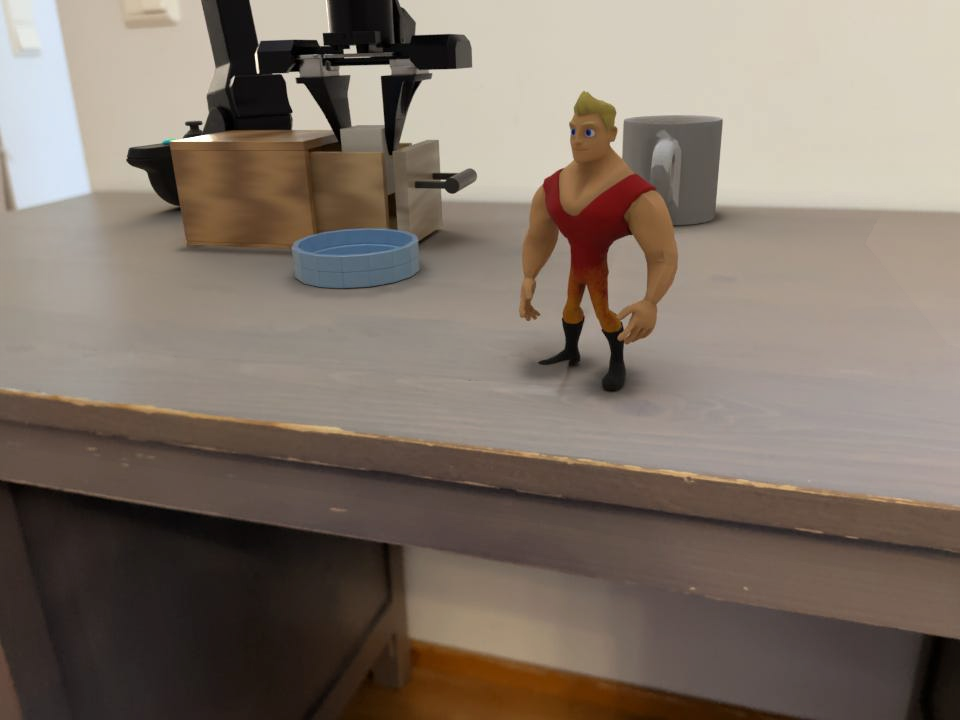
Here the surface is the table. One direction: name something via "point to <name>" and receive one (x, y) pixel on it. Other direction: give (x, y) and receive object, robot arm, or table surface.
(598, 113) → the action figure
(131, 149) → the controller
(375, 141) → the block
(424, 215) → the drawer
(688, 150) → the coffee mug
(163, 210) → the table surface
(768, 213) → the table surface
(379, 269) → the bowl
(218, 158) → the cabinet
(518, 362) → the table surface
